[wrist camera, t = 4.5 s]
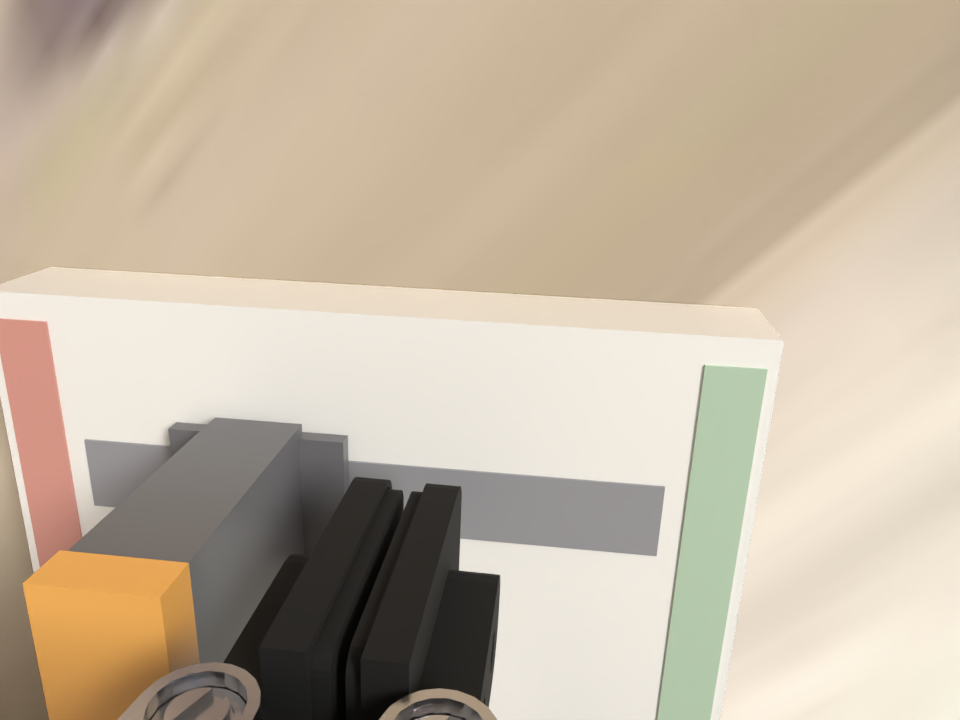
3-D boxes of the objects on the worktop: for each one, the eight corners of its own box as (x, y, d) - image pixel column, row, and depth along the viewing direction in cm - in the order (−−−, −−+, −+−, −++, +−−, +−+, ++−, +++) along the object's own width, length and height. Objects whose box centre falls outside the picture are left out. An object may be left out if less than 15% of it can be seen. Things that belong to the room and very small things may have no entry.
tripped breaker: (347, 422, 14) (222, 604, 9) (351, 571, 15) (242, 807, 10) (175, 409, 14) (-37, 577, 9) (190, 555, 15) (8, 777, 10)
